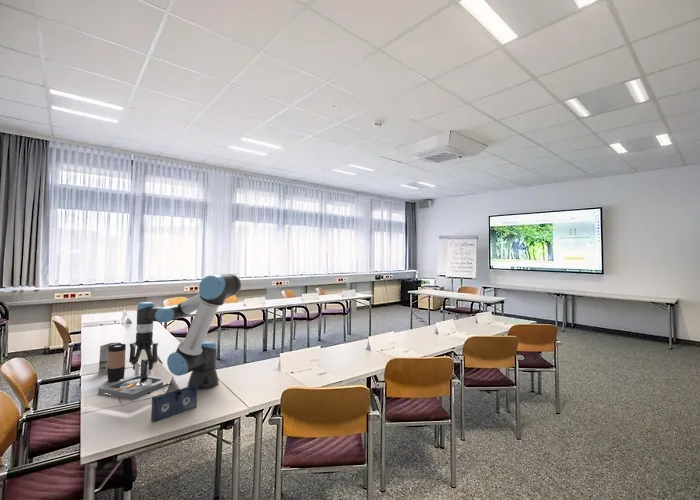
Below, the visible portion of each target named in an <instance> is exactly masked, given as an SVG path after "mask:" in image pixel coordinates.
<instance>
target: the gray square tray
mask: <svg viewBox="0 0 700 500" xmlns="http://www.w3.org/2000/svg"><path fill="white" fill-rule="evenodd" d="M140 376H141V373H139V375H138V376H136V377H134V375H132V376H128V377H126V378H124V379H121V380H119V381H117V382H111V383H110V384H107V385H106V384H105V385H103V386H101V387H98V389H97V390H98V391H97V392H98V394H100V393H108V394H111V395H114V396H113V397H116V396H117V398H121V399H123V398H124V399H129V400H136V399H138V398H140V397H143V396H145V395H147V394H149V393H152V392H155V391H157V390H158V389H161V388H163V387H162V385H163V382H164V381H163V380H162V378H161V377H162V376H157V375H152V374H151V375H150V376H148V379H150V380H152V384H151V385H148V386H146V387H143V388H141V389H138V390H136V391H130V390H124V389H122V388H120V385H121V384H122V383H125V382H127V381H131V380H135V379H140ZM111 395H110V396H111Z"/></svg>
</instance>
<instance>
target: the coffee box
mask: <svg viewBox="0 0 700 500" xmlns="http://www.w3.org/2000/svg"><path fill="white" fill-rule="evenodd" d="M115 344H122V342H110V343H109V342H108V343H106V344H103V345H100V346H99V348H100V349H99V360H98V361H99V362H98V363H99V364H98V374H100V375H108V356H109V346H111V345H115Z"/></svg>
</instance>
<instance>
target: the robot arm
mask: <svg viewBox="0 0 700 500" xmlns="http://www.w3.org/2000/svg"><path fill="white" fill-rule="evenodd" d="M241 288H242V282H241V280H240V277H238V276H237V275H236V274H233V273H223V274H222V273H221V274H217V273H216V274H215V273H213V274H208V275H206V276H204V277H203V278H202V279H201V281H200V282H199V285H198V291H199V292H198V294H197V295H194V296H192V297H190V298H188V299H185V300H184V301H182V302H180V303H177V304H173V305H165V306H155V303H154V302H152V301H142V302H139V303H138V304H137V310H136V330H135V331H136V333H135V342H132V343H129V348H130V349H129V350H130V351H129V361H128V362H129V363H132V365H133V366H132V370H133V371H134V375H133V376H134V377H136V376H138V375H139V374H140V362H139V359H140V356H141V353H142V351H143V350H144V352H145V353H146V359H148V364H147V377H148V376H150V375H151V376H152V370H153V368H154V363H156V362H158V346H159V342H154V340H153V336H154V334H153V333H154V332H153V330H154V322H157V323H168V322H170V321H171V320H176V319H181V318H186V317H189V316H190V315H191V314H192V313H193V312H195V315H194V317H193V319H192V322H191V324H190V327H189V328H188V331H187V334H186V336H185V337H184V340H183V341H182V342H180V343H179V344H178V346H177V347H176V350H175V351H174V352H172V353H170V354H169V355H168V356H167V361H166V364H167V367H168V370H169V371H170V373H171V374H173V375H175V376H178V377H179V376H183V375H187V374H189V373H190V377H189V379H188V381H187V382H188V383H187V387H190V386H194V385H196V386H197V391H198V390H199V391H200V390H207V389H212V388H215V387H216V386H218V385H219V379H220V378H219V376H218V373H217V367H216V366H217V343H216V342H215V341H212V340H211V341H209V340H205V338H206V336H207V335H208V332H209V330H210V328H211V325H212V322H213V321H214V319H215V316H216V313H217V311H218V310H219V307H221V306H223V305H224V303H225V301H226V299H228V298H231V297H233V296H235V295H238V293H239V292H240V290H241ZM136 347H137V348H136Z"/></svg>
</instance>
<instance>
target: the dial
mask: <svg viewBox="0 0 700 500" xmlns="http://www.w3.org/2000/svg"><path fill="white" fill-rule="evenodd" d="M148 363H149V362H148V358H144V359H141V361H140V374H141V376H140V379H135V380H131V381H127V382H125V383H122V384H121V385H120V388H122V389H124V390H130V391H136V390H138V389H141V388H143V387H146V386H148V385H151V384H152V380H150V379H148V377H147V364H148Z"/></svg>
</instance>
